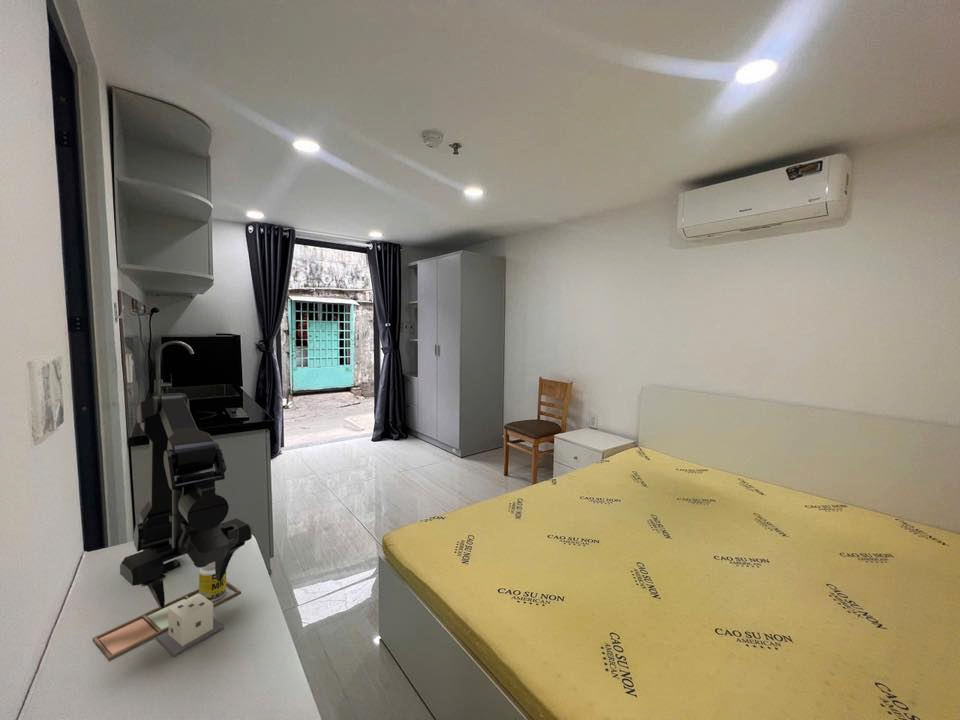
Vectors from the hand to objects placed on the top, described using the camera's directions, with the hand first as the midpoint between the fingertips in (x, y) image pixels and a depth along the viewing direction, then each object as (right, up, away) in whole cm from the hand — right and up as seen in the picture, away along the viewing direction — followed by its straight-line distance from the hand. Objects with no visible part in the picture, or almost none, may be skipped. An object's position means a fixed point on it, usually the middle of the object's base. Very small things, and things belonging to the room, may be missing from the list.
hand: (191, 593), depth 73 cm
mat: (-1, -8, +1) cm, 8 cm away
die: (-1, -8, +1) cm, 8 cm away
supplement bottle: (-4, -7, +11) cm, 14 cm away
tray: (-7, -7, +5) cm, 12 cm away
